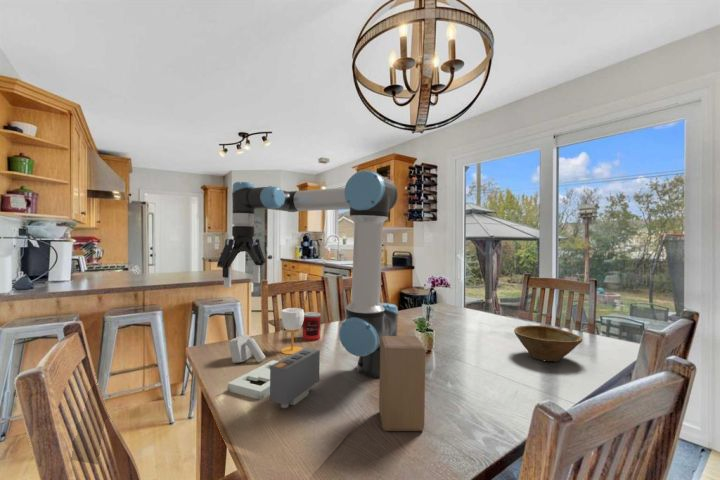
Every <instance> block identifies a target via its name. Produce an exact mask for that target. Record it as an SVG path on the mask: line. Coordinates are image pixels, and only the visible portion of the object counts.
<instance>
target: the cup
mask: <svg viewBox="0 0 720 480" xmlns="http://www.w3.org/2000/svg"><path fill="white" fill-rule="evenodd" d="M304 313H305V311H304V309H302V308H300V307H299V308H298V307H289V308H287V307H286V308H284V309H282V310H281V314H280V315H281V323H282V326H283V328H284V330H286V332H288V333H291V340H290V341H291V344H290V346H286V347H283V348H281V349H280V353H282V354H284V355H287V356H290V355H292V354H294V353H296V352H298V351H300V350H302V349H304V348H303V347H301V346H295V345H294V335H295V333H297V332H299V330H300V329H301V328H302V327H303V320H304Z"/></svg>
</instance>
